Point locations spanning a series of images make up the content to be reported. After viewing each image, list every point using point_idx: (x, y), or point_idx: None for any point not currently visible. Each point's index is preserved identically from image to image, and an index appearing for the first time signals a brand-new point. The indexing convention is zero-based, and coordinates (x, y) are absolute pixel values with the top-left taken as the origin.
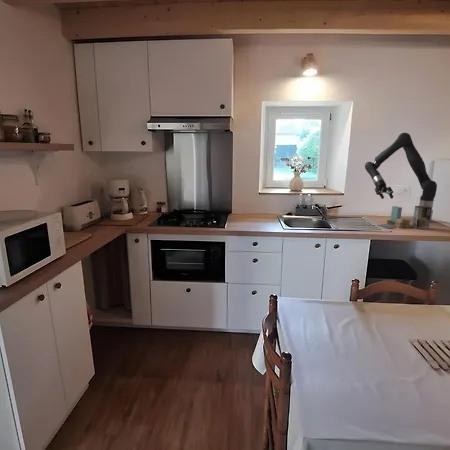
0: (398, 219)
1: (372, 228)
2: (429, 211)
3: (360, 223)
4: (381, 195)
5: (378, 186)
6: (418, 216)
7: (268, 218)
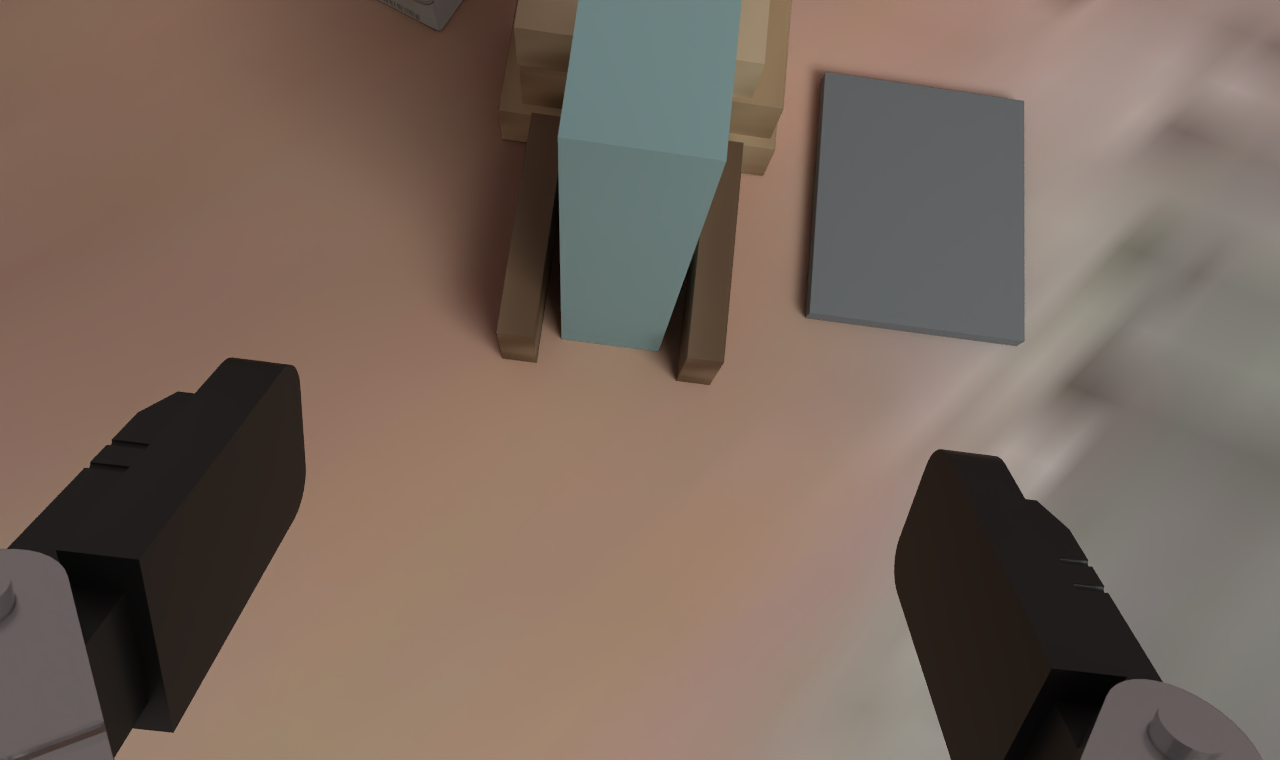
0: (766, 25)
1: (1256, 226)
2: None
3: (1233, 636)
4: (1113, 606)
5: None
6: None
7: None
